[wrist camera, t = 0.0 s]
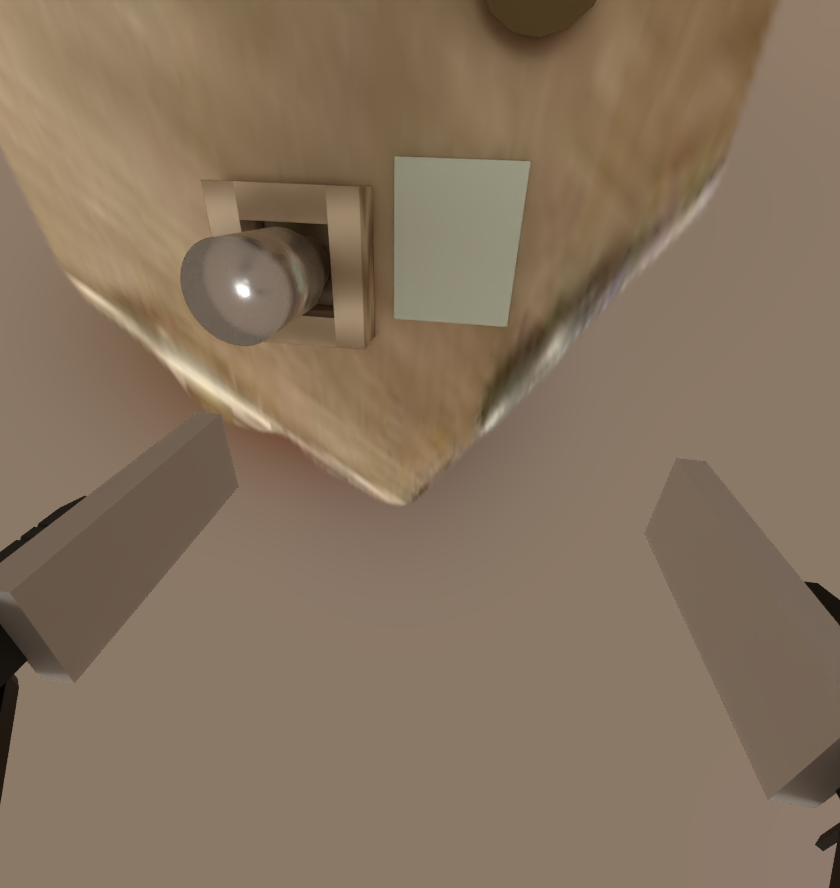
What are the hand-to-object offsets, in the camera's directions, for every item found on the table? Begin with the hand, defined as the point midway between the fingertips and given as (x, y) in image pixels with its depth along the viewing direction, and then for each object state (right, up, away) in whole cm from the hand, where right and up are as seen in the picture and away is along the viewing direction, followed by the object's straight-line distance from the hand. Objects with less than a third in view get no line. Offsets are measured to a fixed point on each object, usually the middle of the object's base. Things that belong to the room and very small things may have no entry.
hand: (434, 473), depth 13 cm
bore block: (-10, +17, +25) cm, 31 cm away
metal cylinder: (-10, +17, +25) cm, 31 cm away
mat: (+3, +17, +22) cm, 28 cm away
